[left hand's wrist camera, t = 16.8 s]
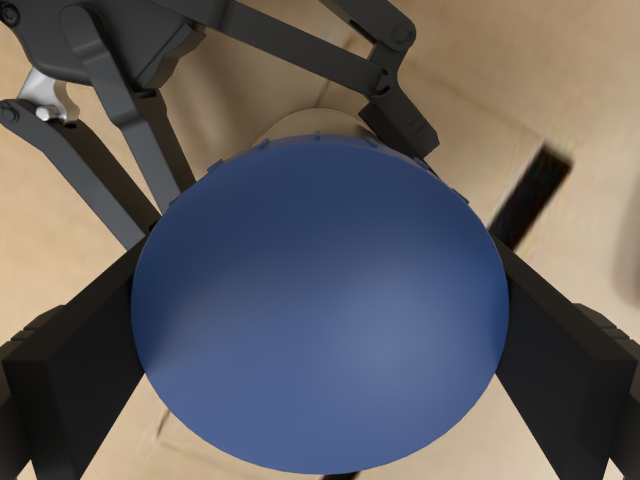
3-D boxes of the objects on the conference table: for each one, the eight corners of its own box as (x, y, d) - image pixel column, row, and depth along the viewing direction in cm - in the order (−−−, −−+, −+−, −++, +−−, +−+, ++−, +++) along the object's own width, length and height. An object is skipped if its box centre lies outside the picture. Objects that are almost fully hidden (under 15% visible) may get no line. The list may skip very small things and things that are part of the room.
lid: (80, 251, 11) (42, 278, 10) (385, 50, 10) (397, 44, 8) (274, 472, 14) (268, 521, 12) (539, 346, 12) (570, 384, 11)
